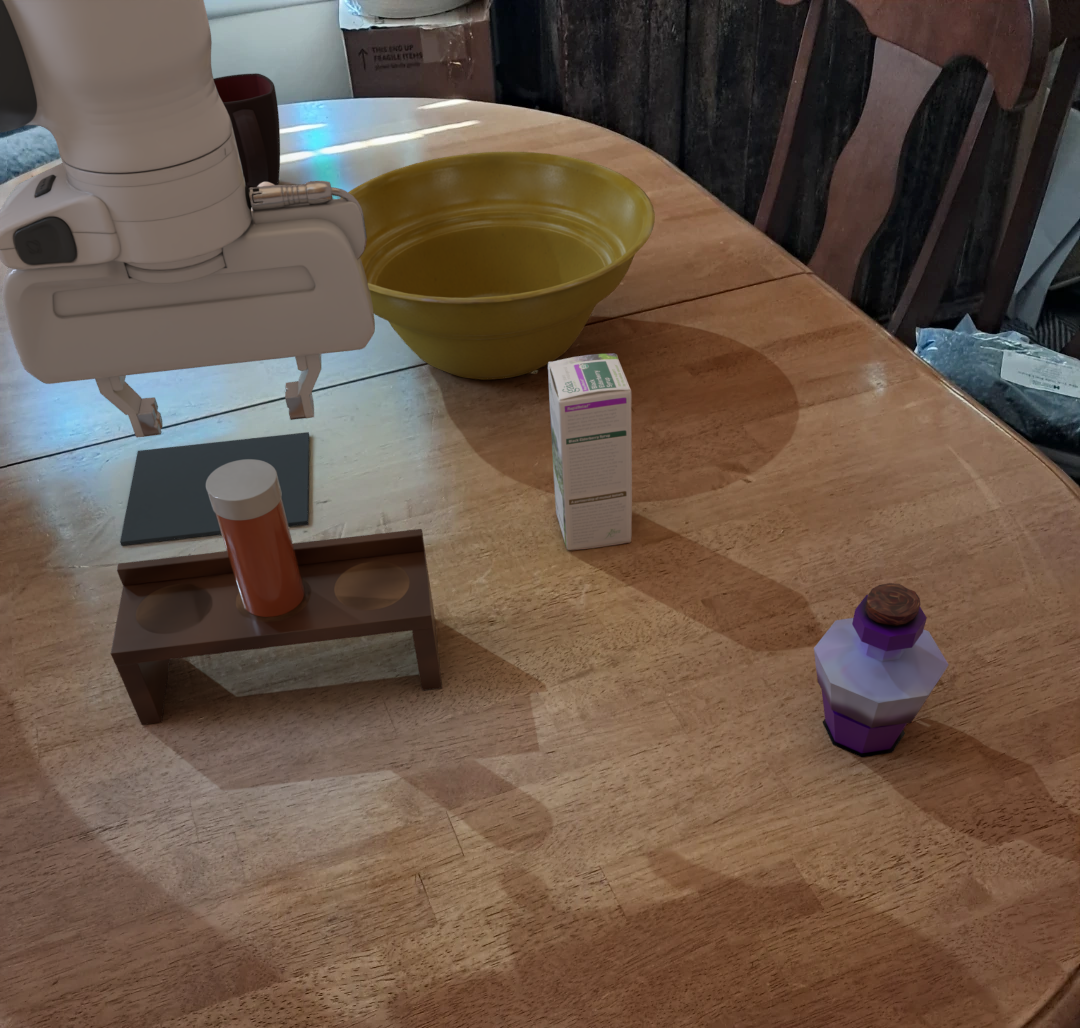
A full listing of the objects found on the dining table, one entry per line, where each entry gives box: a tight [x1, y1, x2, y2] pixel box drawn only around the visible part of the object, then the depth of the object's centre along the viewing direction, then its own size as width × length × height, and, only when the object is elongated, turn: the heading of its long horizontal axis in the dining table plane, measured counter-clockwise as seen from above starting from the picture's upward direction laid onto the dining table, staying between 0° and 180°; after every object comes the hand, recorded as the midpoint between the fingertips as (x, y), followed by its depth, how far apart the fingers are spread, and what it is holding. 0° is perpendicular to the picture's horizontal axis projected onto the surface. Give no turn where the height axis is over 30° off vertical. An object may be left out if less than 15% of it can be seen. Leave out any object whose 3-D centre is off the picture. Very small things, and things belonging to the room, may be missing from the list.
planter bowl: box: [338, 151, 656, 381], centre depth 114 cm, size 32×32×13 cm
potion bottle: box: [813, 582, 950, 758], centre depth 76 cm, size 9×9×12 cm
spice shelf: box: [110, 528, 443, 726], centre depth 84 cm, size 22×8×9 cm, turn 98°
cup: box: [213, 73, 281, 187], centre depth 144 cm, size 10×14×12 cm
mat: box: [119, 431, 310, 546], centre depth 104 cm, size 16×14×1 cm
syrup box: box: [547, 352, 633, 551], centre depth 92 cm, size 6×6×14 cm
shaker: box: [206, 459, 305, 617], centre depth 78 cm, size 5×5×10 cm
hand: (226, 422), depth 72 cm, fingers open, 8 cm apart
